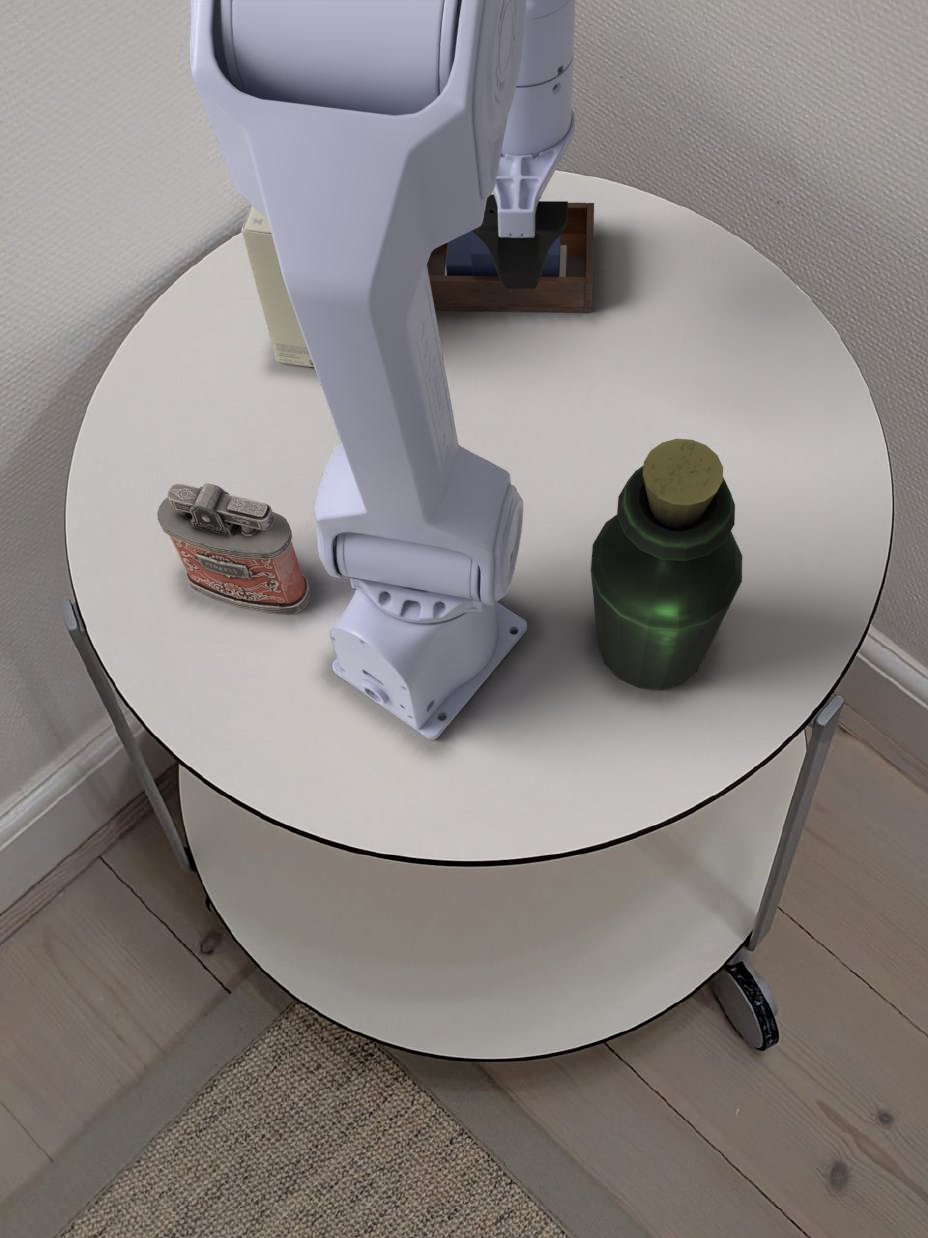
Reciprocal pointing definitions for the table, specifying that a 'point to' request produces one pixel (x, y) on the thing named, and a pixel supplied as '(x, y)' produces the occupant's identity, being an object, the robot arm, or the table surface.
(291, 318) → the cosmetic box
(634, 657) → the potion bottle
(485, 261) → the chalkboard eraser
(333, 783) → the table surface
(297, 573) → the lighter
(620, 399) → the table surface
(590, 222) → the tray
